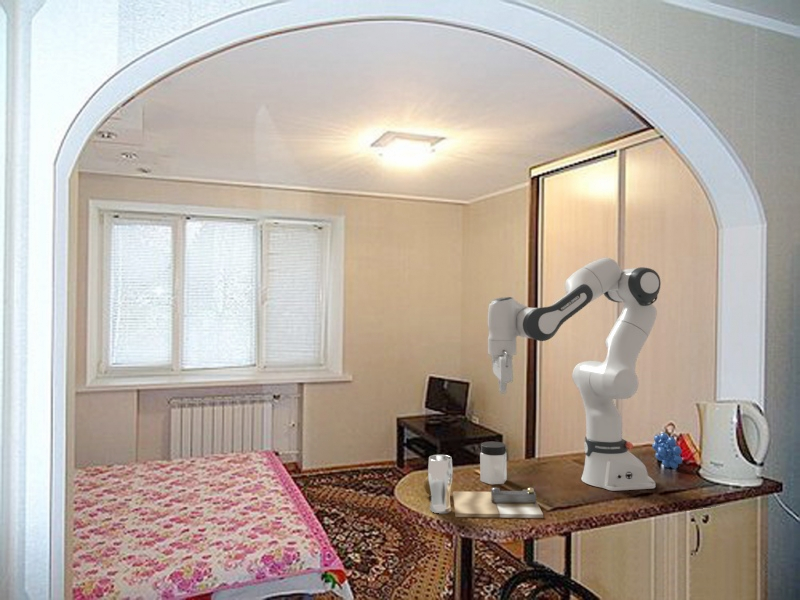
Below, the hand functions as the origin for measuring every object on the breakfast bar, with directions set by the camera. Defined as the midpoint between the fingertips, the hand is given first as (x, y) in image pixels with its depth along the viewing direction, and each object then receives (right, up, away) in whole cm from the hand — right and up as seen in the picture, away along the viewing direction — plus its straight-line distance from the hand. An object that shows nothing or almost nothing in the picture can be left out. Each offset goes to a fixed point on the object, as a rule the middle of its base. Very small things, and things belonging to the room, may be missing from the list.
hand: (502, 392), depth 182 cm
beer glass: (-21, -31, -17) cm, 41 cm away
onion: (-21, -31, -5) cm, 38 cm away
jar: (-1, -31, +9) cm, 32 cm away
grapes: (+61, -30, +22) cm, 72 cm away
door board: (-5, -31, -14) cm, 34 cm away
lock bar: (0, -29, -14) cm, 32 cm away
